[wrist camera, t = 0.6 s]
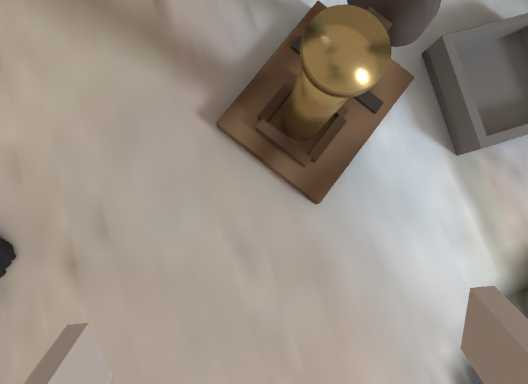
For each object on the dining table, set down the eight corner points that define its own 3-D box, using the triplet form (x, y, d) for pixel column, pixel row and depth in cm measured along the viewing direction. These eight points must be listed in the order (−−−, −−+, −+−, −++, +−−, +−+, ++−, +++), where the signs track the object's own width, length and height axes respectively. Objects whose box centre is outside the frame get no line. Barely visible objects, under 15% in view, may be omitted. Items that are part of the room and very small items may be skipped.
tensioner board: (217, 127, 33) (204, 72, 20) (314, 9, 35) (356, -106, 22) (315, 204, 33) (361, 195, 21) (407, 83, 35) (499, 8, 23)
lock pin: (268, 103, 32) (291, 16, 18) (316, 90, 33) (375, -5, 19) (284, 152, 32) (319, 101, 18) (332, 138, 32) (403, 78, 18)
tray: (422, 53, 35) (441, 35, 32) (515, 28, 37) (545, 8, 33) (457, 155, 35) (481, 148, 31) (551, 126, 36) (585, 116, 32)
